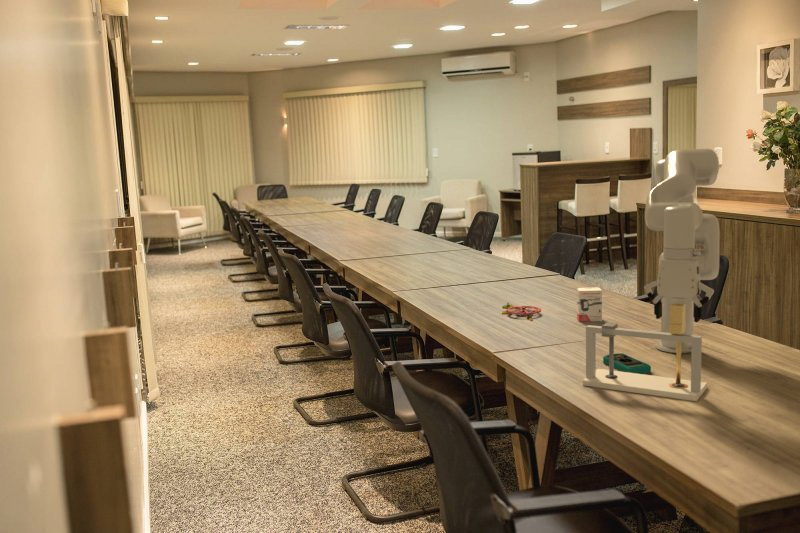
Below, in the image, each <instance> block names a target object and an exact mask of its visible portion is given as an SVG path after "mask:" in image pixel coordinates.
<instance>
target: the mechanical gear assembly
mask: <svg viewBox="0 0 800 533" xmlns="http://www.w3.org/2000/svg"><path fill="white" fill-rule="evenodd" d="M506 303H507V304H506V305H505V304H504V305H502V306H501V307H502V309H504V310H506V311H501V314H502V315H510V314H511V315H517V316H518V315H519V316H524V317H526V319H527V320H529V321H530V322H533V321H534V319H533V317H532V315H537V314H539V313H541V312H542V308H540V307H537V306H533V305H517V306H515V305H513V303H510V302H508V301H507V302H506Z"/></svg>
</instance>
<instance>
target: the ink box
mask: <svg viewBox="0 0 800 533" xmlns="http://www.w3.org/2000/svg"><path fill="white" fill-rule="evenodd" d="M576 320H577V321H578V322H579V323H580V322H581V323H582V322H583V323H584V322H603V290H602V289H601V288H600V287H597V286H596V287H578V288H576Z"/></svg>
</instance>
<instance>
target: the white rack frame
mask: <svg viewBox="0 0 800 533" xmlns="http://www.w3.org/2000/svg"><path fill="white" fill-rule="evenodd" d="M596 334H600V335H601V337H605V338H608V340H609V341H608V342H609V343H608V344H609V346H608V349H609V350H608V351H609V353H608V355H609V365H608V369H604V368H596V362H597V361H596V360H597V359H596V356H597V355H596V350H597V349H596V348H597V347H596V344H597V342H596V338H597V337H596ZM616 336H622V337H629V338H630V337H632V338H641V339H649V340H650V339H652V340H659V341H661V340H669V341H679V342H688V343H692V347H691V352H690V353H691V354H690V355H691V358H690V363H691V364H690V380H689V379H683V378H681V384H676V377H675V378H674V377H667V376H659V375H650V374H636V373H629V372H622V371H619V370H615V368H614V354H615V351H614V350H615V349H614V348H615V345H614V344H615V337H616ZM702 338H703V337H702V335H695V334H693V335H685V334H682V335H681V334H670V333H665V332H661V331H653V330H645V329H643V330H642V329H641V330H640V329H631V328H622V327H618V323H615V322H608V321H607V322H605V323H604V324H602V325H600V326H599V325H591V324H590V325H589V324H588V325H586V326H585V378H583V379H582V386H584V387H590V388H591V387H593V388H599V389H605V390H606V389H607V390H614V391H623V392H627V393H637V394H641V395H643V394H644V395H650V396H655V397H656V396H657V397H662V398H668V399H671V398H672V399H676V400H683V401H684V400H685V401H691V402H692V401H693V402H697V401H698V400H699V398H700V397H701V396H702V395H703V394H704V392H705V391H706V390H707V389H708V382H704V381H702V342H703V340H702Z"/></svg>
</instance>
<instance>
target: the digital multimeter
mask: <svg viewBox="0 0 800 533" xmlns="http://www.w3.org/2000/svg"><path fill="white" fill-rule="evenodd" d="M602 359H603V360H602V362H603V364H604V365H607V366H609V354H607V355H604V356H603V358H602ZM651 369H652V366H651V365H650V364H648V363H646V362H644V361H641V360H639V359H636V358H634V357H632V356H630V355H628V354H626V353H624V352H623V353H614V370H616V371H621V372H629V373H636V374H644V375H646V374H650V373H652V370H651Z"/></svg>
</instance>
